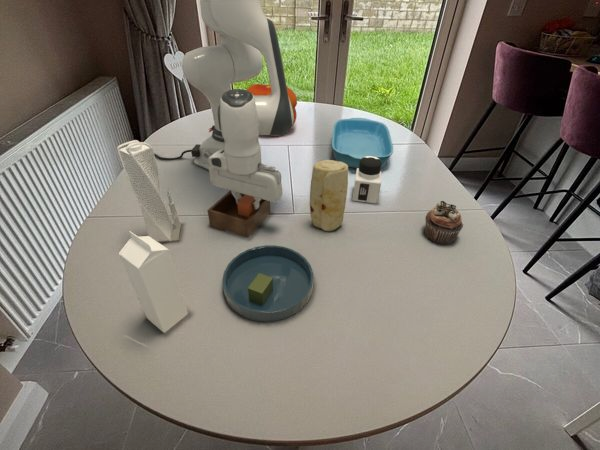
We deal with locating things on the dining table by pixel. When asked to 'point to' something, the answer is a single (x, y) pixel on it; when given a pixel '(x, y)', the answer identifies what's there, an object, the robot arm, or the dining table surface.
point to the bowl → (286, 282)
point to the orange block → (246, 206)
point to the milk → (154, 280)
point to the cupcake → (443, 223)
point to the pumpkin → (266, 90)
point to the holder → (236, 216)
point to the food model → (328, 194)
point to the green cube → (260, 289)
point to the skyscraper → (149, 191)
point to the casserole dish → (361, 141)
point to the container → (368, 180)
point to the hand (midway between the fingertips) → (247, 205)
